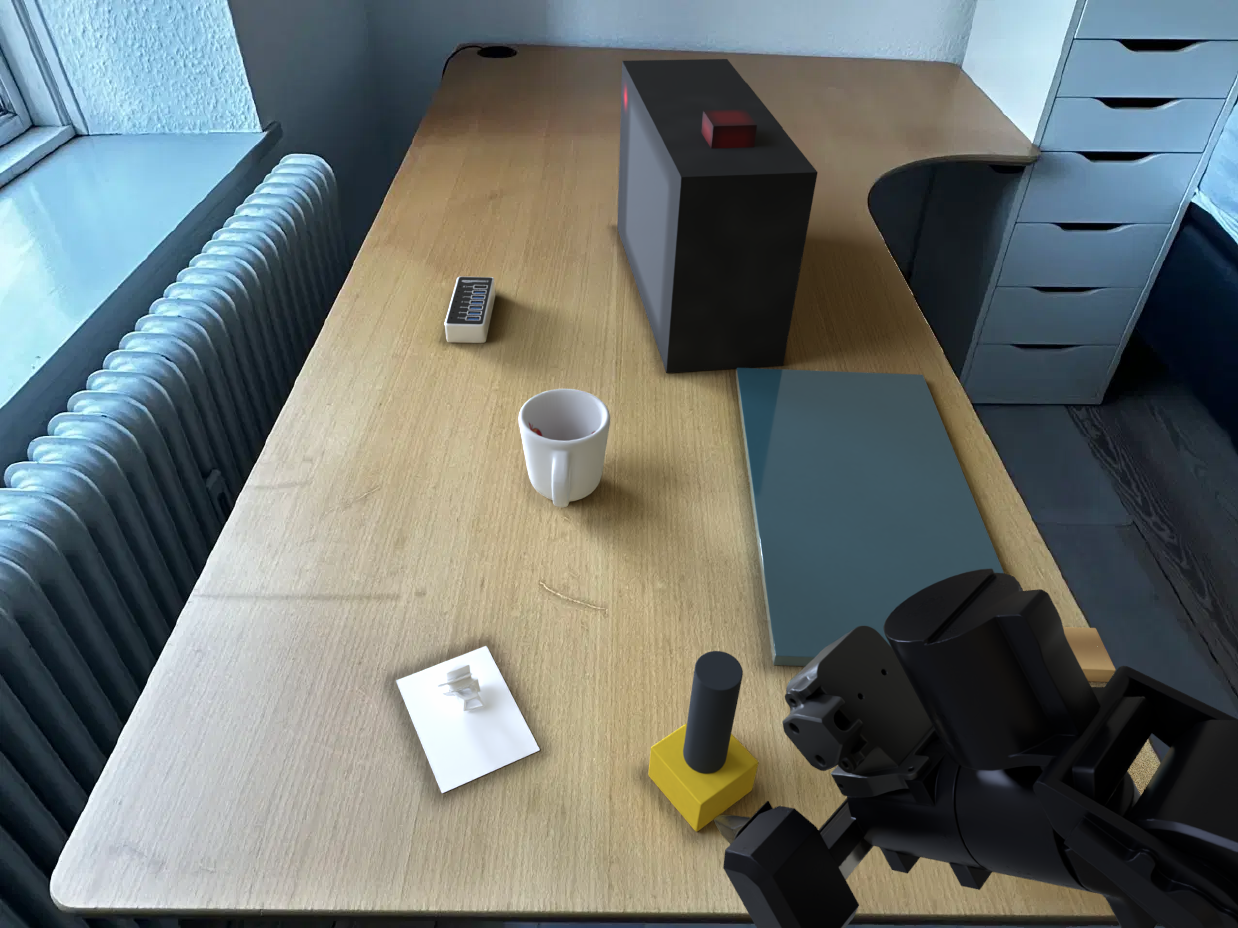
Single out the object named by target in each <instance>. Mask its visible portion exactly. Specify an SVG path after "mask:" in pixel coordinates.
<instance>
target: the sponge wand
mask: <svg viewBox="0 0 1238 928" xmlns="http://www.w3.org/2000/svg"><path fill="white" fill-rule="evenodd" d="M743 675H744V671H743V667H742V665H741V663H740V661H739V660H738V659H737V658H736V657H735V656H733V655H732V654H730V653H727V652H725V651H722V650H711V651H708V652H705V653H703V654H702V655H700V656H699V657H698V658H697V659H696V662H695V664H694V670H693V676H692V685H691V690H690V698H689V707H688V713H687V721H686V723H685V724H683V725H682V726H680V727H679V728H677V729H676V730H674V731H672V732H671V733H670V734H669V735H667V736H665V737H664V738H662V739H660V741H657V743H655V744H654V745H652V746H651V747H650V753H649V763H648V764H649V765H648V777H649V778H650V779H651V781H652V782H653V783H654V784H655V786H657V788H658V789H659V790H660V791H661V792H662V794H663V795H664V796H665V797H666V798H667V800H668V801H669V802H670V803H671V804H672V806H673V807H674V808H675V809H676V810H677V811H678V813H679V814H680V815H681V816H682V818H684V820H685V821H686V822H687V823H688V824H689V826H690V827H691V828H692V829H693V830H694V832H699V831H701V829H703V828H704V827H706V826H707V825H708V824H710V823H711V822H712V821H714V819H715V818H716V817H717V816H720V815H722V814H723V813H724V812H725V811H726V810H728V809H729V808H730V807H732V806H733V805H735V804H736V803H737V802H739V801H740V800H741V799H742V798H744V797H745V796H747V795H748V794H749V793H750V792H751V791H753V788H754V784H755V780H756V775H757V771H758V767H759V761H758V759H756V758H755V756H754V755H753V754H752V753H751V752H750V751H749V750H748V749H747V748H746V747H745V746H744V745H743V744H742V743H741V742H740V741H739V739H737V738H736V736H735V735H734V734H733V733H732V732H733V726H734V723H735V717H736V711H737V707H738V706H737V705H738V703H739V702H738V701H739V695H740V691H741V686H742V681H743Z"/></svg>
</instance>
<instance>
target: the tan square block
mask: <svg viewBox="0 0 1238 928" xmlns="http://www.w3.org/2000/svg"><path fill="white" fill-rule="evenodd" d="M1063 629H1064V634H1065V636H1066V638H1067V641H1068V643H1069V645H1070V647H1071V649H1072V651H1073V652H1074V654H1075V656H1076V658H1077V660H1078V662H1079V664H1080V666H1081V668H1082V670H1083V672H1084V674H1085V676H1086V678H1087V680H1088V682H1097V683H1098V682H1099V683H1108V681H1109V680H1110V679H1111V677H1112V676H1113V675H1114V673H1115V672H1116V670H1117V669H1116V667H1115V665H1114V663H1113V661H1112V659H1111V657H1110V654H1109V652H1108V651H1107V648H1106V646H1105V644H1104V642H1103V640H1102V638H1101V636H1100V634H1099V632H1098V630H1097V628H1096V627H1079V626H1077V627H1076V626H1063ZM1097 646H1098V647H1097ZM1105 660H1106V661H1105Z"/></svg>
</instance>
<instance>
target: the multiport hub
mask: <svg viewBox="0 0 1238 928" xmlns="http://www.w3.org/2000/svg"><path fill="white" fill-rule="evenodd" d="M495 300H496V284H495V278H494V277H492V276H458V277H457V278H456V281H455V284H454V289H453V292H452V295H451V299H450V302H449V306H448V310H447V312H446V318H445V320H444V331H445V338H446V341H447V342H448V343H458V344H459V343H462V344H463V343H465V344H466V343H467V344H484V343H486V342H487V339H488V333H489V328H490V323H491V319H492V314H493V310H494V306H495V305H494V304H495Z"/></svg>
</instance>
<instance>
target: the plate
mask: <svg viewBox="0 0 1238 928" xmlns="http://www.w3.org/2000/svg"><path fill="white" fill-rule="evenodd" d="M735 383H736V390H737V397H738V405H739V413H740V420H741V430H742V436H743V443H744V452H745V460H746V467H747V474H748V481H749V489H750V498H751V504H752V513H753V521H754V529H755V536H756V543H757V551H758V552H757V553H758V559H759V566H760V574H761V582H762V589H763V590H762V591H763V599H764V605H765V612H766V620H767V629H768V637H769V644H770V651H771V659H772V665H773V666H787V667H789V666H791V667H805V666H806V665H807V664H808V663H810V662H811V661H812V660H813V659H814V658H815V657H816V656H817V655H818V654H819V653H820V652H821V651H822V650H823V649H824V648H825V647H827V646H828V645H830V644H831V643H833V642H834V641H836V640H838V639H839V638H841V637H842V636H844V635H845V634H847V633H848V632H850V631H852V630H853V629H855V628H856V627H858V626H869V627H872V628H873V629H875V630H876V631H877V632H878V633H879V634H880V635H881V636H882V637H883V638H884V639H885V640H886V642H887V643H888V644H889V645H890V643H889V641H888V640H887V638H886V636H885V634H884V629H883V626H884V624H885V621H886V619H887V618H888V616H889V615H890V614H891V612H892V611H893V610H894V609H895V608H896V607H897V606H898V605H900V604H901V603H902V602H904V601H905V600H906V599H908V598H909V597H910V596H912V595H914V594H915V593H917V592H919V591H920V590H922V589H924V588H926V587H928V586H930V585H932V584H934V583H936V582H939V581H941V580H944V579H946V578H949V577H952V576H955V575H958V574H962V573H965V572H970V571H975V570H980V569H993V570H994V572H995V573H1004V574H1005V571H1004V569H1003V566H1002V564H1001V562H1000V560H999V557H998V555H997V552H996V549H995V548H994V544H993V542H992V539H991V537H990V535H989V533H988V531H987V528H986V525H985V523H984V520H983V518H982V516H981V512H980V511H979V508H978V505H977V503H976V500H975V499H974V496H973V493H972V491H971V489H970V487H969V483H968V482H967V481H968V480H967V479H966V477H965V474H964V472H963V469H962V467H961V464H960V462H959V460H958V456H957V453H956V451H955V450H954V447H953V445H952V442H951V440H950V437H949V434H948V433H947V432H948V431H947V430H946V427H945V425H944V423H943V420H942V418H941V415H940V412H939V411H938V408H937V405H936V403H935V401H934V397H933V396H932V393H931V390H930V389H929V386H928V384H927V381H926V379H925V377H924V374H920V373H919V374H918V373H916V374H915V373H890V372H867V371H866V372H865V371H863V372H862V371H839V370H837V371H836V370H811V369H785V368H784V369H781V368H780V369H779V368H761V367H752V368H737V369H735ZM890 646H891V645H890Z"/></svg>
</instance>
